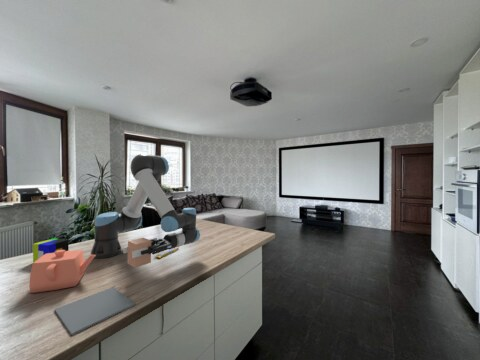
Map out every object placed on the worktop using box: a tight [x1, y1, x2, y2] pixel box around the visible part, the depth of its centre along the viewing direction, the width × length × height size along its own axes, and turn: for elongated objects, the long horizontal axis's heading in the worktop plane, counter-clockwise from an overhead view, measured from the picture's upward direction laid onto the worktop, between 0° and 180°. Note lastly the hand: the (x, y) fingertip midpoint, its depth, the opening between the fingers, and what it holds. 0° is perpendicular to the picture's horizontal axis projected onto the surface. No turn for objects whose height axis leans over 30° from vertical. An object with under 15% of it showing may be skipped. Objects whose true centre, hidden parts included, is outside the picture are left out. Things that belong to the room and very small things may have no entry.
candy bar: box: [155, 247, 180, 259], centre depth 123 cm, size 17×4×2 cm, turn 156°
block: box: [127, 237, 152, 269], centre depth 93 cm, size 7×7×10 cm
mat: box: [54, 286, 136, 336], centre depth 71 cm, size 18×18×1 cm
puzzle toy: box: [32, 238, 69, 264], centre depth 111 cm, size 10×10×10 cm
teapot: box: [28, 249, 96, 294], centre depth 88 cm, size 20×22×14 cm
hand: (128, 252), depth 89 cm, fingers closed on block, 7 cm apart
